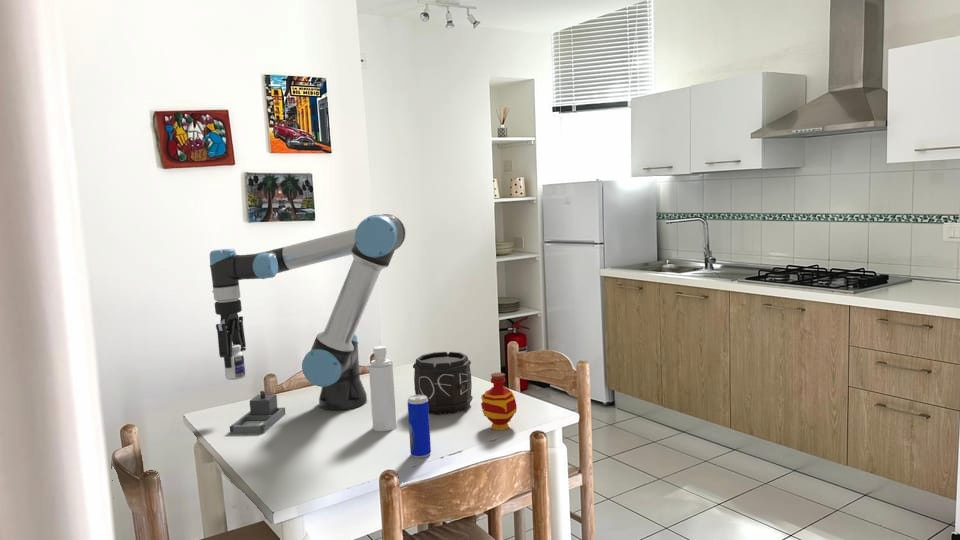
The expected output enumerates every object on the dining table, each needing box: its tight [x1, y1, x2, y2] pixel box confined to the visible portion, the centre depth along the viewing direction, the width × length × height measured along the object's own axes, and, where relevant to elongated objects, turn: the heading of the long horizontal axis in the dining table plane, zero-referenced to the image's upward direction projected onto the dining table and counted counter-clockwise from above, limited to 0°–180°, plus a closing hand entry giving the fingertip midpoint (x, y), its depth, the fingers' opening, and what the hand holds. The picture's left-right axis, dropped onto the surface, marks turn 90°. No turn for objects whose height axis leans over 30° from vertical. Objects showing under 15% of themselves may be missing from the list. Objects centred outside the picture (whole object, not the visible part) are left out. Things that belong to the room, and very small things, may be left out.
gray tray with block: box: [229, 390, 286, 435], centre depth 204 cm, size 10×17×9 cm, turn 175°
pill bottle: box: [223, 344, 246, 381], centre depth 209 cm, size 6×6×10 cm
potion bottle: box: [480, 372, 518, 431], centre depth 191 cm, size 10×10×15 cm
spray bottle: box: [368, 345, 397, 432], centre depth 195 cm, size 7×7×25 cm
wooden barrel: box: [412, 351, 474, 416], centre depth 212 cm, size 18×18×16 cm
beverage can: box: [407, 394, 432, 459], centre depth 173 cm, size 5×5×15 cm
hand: (235, 374), depth 210 cm, fingers closed on pill bottle, 6 cm apart
